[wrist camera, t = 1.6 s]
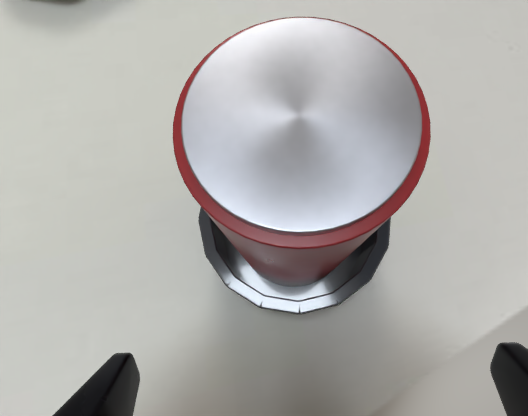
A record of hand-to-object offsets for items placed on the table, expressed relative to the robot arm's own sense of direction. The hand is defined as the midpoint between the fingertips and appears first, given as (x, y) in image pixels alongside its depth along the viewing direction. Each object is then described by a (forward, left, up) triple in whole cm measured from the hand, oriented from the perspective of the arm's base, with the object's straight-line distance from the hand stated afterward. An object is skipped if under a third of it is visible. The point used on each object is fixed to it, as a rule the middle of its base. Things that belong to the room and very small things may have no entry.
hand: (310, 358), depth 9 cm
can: (+6, -1, -11) cm, 13 cm away
